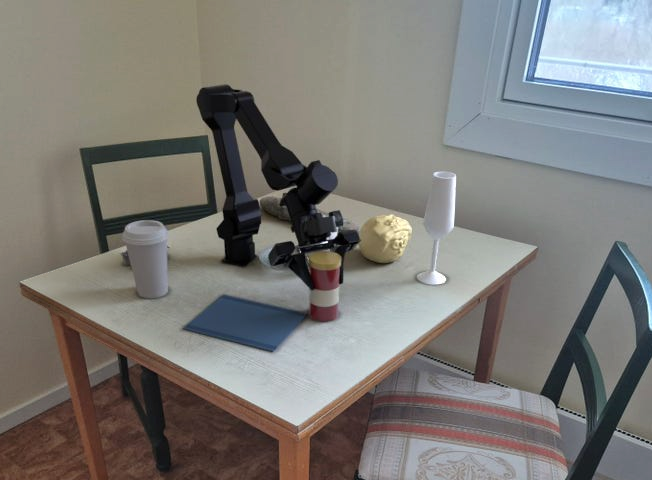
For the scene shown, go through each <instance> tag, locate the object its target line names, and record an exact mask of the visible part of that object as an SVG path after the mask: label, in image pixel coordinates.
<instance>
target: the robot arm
mask: <svg viewBox="0 0 652 480" xmlns="http://www.w3.org/2000/svg"><path fill="white" fill-rule="evenodd" d="M195 101H196V105H197V108H198V110H199V114H200V116H201V120H202V121H203V122H204V123H205V124H206V126H207V128H209V129H210V131H211V133H212V138H213V142H214V147H215V151H216V155H217V159H218V164H219V169H220V174H221V179H222V184H223V188H224V192H225V199H224V202H223V206H222V218H223V220H222V221H221V222H220V223H219V225H218V226H217V227H216V233H217V238H218V239H221V240H223V247H224V257H223V258H222V259H221V262H222V263H224V264H230V265H233V266H235V265H236V266H239V267H247V266H248V265H249V264H250V263H252V262H253V261H254V260H255V259H256V258H257V257H258V256H257V254H256V243H255V241H254V236H255V235H258V234H259V233H260V232H259V231H260V226H261V224H262V216H263V214H262V212H261V208H260V200H258V198H255V199H254V198H253V197H252V196H251V195H250V193H249V191H248V187H247V183H246V178H245V172H244V169H243V163H242V159H241V158H242V157H241V154H240V149H239V144H238V139H237V134H236V129H235V125H236V122H237V123H238V124H239V126H240V127H241V129H242V131H243V132H244V134H245V135H246V137H247V139H248V140H249V141H250V143H251V145H252V147H253V148H254V150H255V151H256V153H257V155H258V157H259V159H260V171H261V173H262V176H263V178H264V180H265V182H266V184H267V185H268V187H269V188H270V190H272V191H277V192H278V191H283V190H286V189H289V190H288V191H286V192H283V193H282V196H281V198H282V199H281V200H280V204H279V205H280V206H286V207H287V210H288V213H289V216H290V219H291V221H290V223H291V225H292V226H291V227H290V230H291V233H292V234H295V238H296V241H297V243H298V244H297V245H295V243H294V242H293V241H292V240H288V241H282V242H277V243H274V245H273V247H272V248H271V250H270V251H269V253H268V255H267V258H268V262H269V265H270V267H279V266H283V268H284V269H289V270H290V271H291V272H292V273H294V274H295V275H296V276H297V277H298V278H299V279H300V280H301V281H302V283H304V284H305V285H306V287H307V288H309V289H310V290H311V291H313V290H314V289H315V287H314V283H313V280H312V277H311V275H310V268H309V267H308V265H307V257H306V254H307V253H313V252H318V251H323V250H329V249H330V252H335V253H337V254H339V255H340V256H341V266H340V280H339V286H340V285H343V284H344V273H345V272H344V267H345V256H346V253H350V252H351V251H353V250H354V249H355V248H356V247H357V246H359V243H360V242H361V238H360V235H359V233H358V232H357V231H356V230H349V231H343V232H340V233H339V234H338V235H337V236H336V237H335V238H334V239H330V240H327V239H326V238H327V237H330V236H331V232H332V233H333V232H337V228H336V227H340V226H343V224H344V222H343V219H344V217H343V215H342V212H341V210H340V209H338V210H332V211H329V212H328V213H329V217H323V215H322V214H321V213H318V212H317V209H318V208H317V205H321V203H322V202H323V201H324V200H326V199H327V198H328V197H329V196H330V195H331V194H332V193H333V192H334V191H335V190H336V189H337V187H338V185H339V179H338V175H337V173H336V172H335V171H333V170H332V169H331V168H330V167H329V166H327V165H324V164H322V162H321V160H320V159H317V160H313V161H311V162H310V163H309V164H308V165H305V164H303V163H302V162H301V160H300V159H299V158H298V157H297V156H296V154H295V153H294V152H293V151H292V150H290V149H289V148H287V147H285V146H283V145H282V143H280V141H279V140H278V137H277V136H276V135H275V133H274V132H273V130H272V128H271V127H270V125H269V124H268V122H267V120H266V118H265V117H264V115H263V114H262V112H261V110H260V109H259V107H258V106H257V104H256V103H255V97H254V95H253V94H252V92H251V91H247V90H243V89H238V88H237V89H235V88H232V87H231V85H229V84H225V83H224V84H219V85H211V86H203V87H201V88H200V89H199V91H198V93H197V95H196V100H195ZM316 208H317V209H316ZM309 289H308V290H309Z"/></svg>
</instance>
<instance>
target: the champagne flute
mask: <svg viewBox="0 0 652 480" xmlns="http://www.w3.org/2000/svg"><path fill="white" fill-rule="evenodd" d="M432 174H433V175H432V180H431V184H430V189H429V192H428V198H427V202H426V208H425V213H424V217H423V220H422V226H423V229H424V231H425V232H426V233H427V234H428V235H429V237H431V239H433V243H432V249H431V250H432V251H431V257H430V258H431V259H430V265H429V270H426V271H423V272H420V273H418V274H417V276H416V279H417V280H418V281H419V282H420V283H423V284H426V285H432V286H433V285H435V286H436V285H441V284H444V283H446V281H447V278H446V276H445V275H443V274H442V273H440V272H438V271H436V265H437V258H438V250H439V243H440V240H442V239H443V238H444V237H446V236H447V235H449V234H450V233H451V231H452V230H453V229H454V226H455V211H456V210H455V209H456V186H457V175H456V174H455V173H454V172H451V171H435V172H434V173H432Z"/></svg>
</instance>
